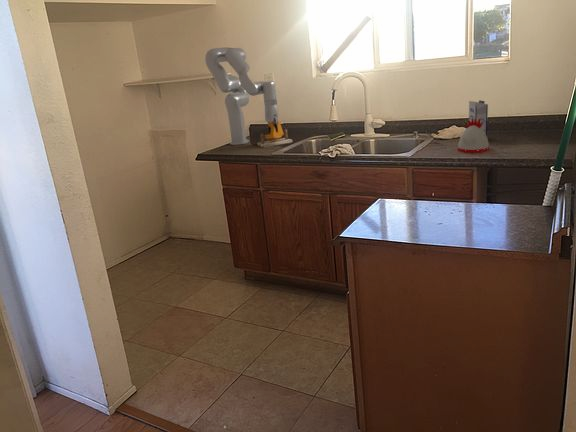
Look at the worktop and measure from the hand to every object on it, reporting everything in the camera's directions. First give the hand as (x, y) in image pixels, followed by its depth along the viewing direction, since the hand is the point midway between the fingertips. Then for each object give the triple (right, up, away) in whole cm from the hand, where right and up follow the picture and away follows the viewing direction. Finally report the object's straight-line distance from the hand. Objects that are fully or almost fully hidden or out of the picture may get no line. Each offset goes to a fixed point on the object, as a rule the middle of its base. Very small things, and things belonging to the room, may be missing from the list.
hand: (273, 132), depth 298 cm
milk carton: (+108, -11, -43) cm, 116 cm away
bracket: (0, -3, +1) cm, 4 cm away
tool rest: (+1, -6, +2) cm, 7 cm away
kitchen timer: (+98, -19, -64) cm, 118 cm away
